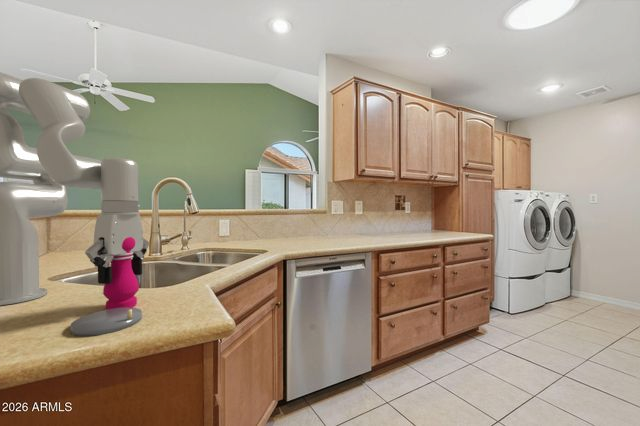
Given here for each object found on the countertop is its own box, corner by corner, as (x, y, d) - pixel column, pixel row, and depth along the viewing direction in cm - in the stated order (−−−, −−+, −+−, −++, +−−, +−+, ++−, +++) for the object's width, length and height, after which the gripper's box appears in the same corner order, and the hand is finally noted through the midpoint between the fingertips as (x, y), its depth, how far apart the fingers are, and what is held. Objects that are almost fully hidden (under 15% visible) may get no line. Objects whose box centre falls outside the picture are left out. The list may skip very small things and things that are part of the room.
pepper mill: (120, 313, 64) (119, 227, 64) (95, 310, 66) (94, 227, 66) (145, 302, 71) (145, 226, 71) (122, 300, 73) (121, 225, 73)
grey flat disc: (53, 333, 54) (53, 317, 54) (110, 311, 66) (110, 297, 66) (105, 338, 52) (105, 321, 52) (154, 314, 64) (154, 300, 64)
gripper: (136, 208, 77) (137, 270, 78) (70, 208, 60) (71, 288, 61) (160, 208, 76) (160, 271, 76) (99, 208, 59) (100, 289, 59)
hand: (121, 278), depth 69 cm, fingers open, 8 cm apart
